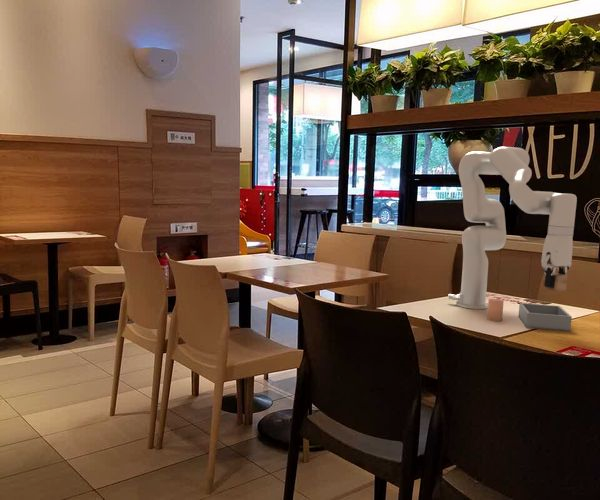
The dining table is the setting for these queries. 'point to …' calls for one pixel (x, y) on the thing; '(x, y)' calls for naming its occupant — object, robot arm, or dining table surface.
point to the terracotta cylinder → (495, 309)
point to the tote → (544, 317)
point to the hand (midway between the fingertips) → (554, 286)
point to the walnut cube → (558, 282)
